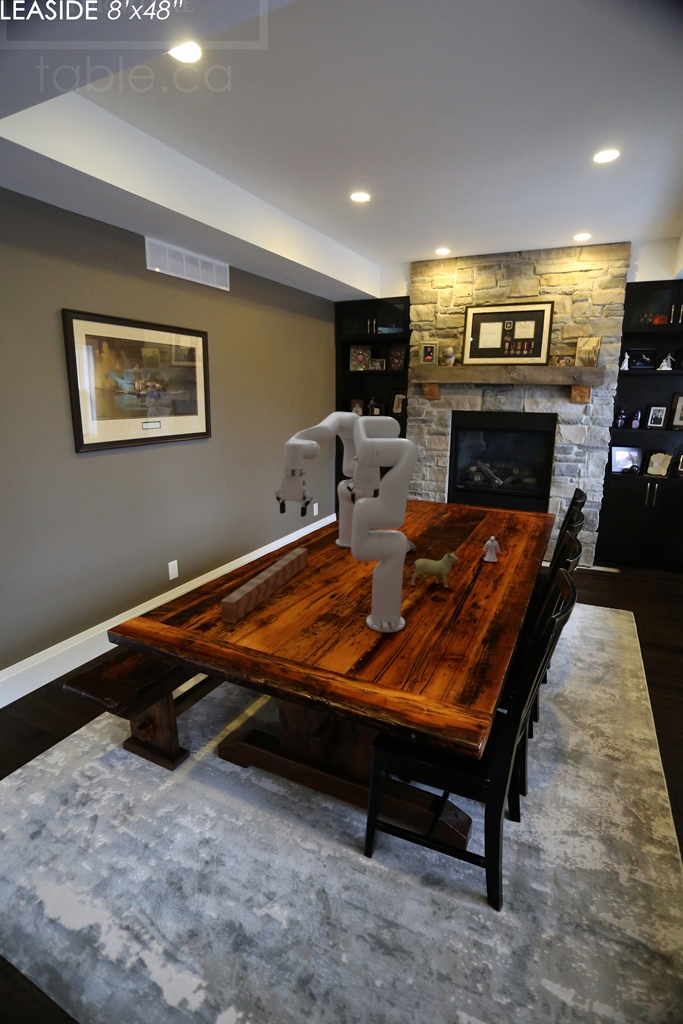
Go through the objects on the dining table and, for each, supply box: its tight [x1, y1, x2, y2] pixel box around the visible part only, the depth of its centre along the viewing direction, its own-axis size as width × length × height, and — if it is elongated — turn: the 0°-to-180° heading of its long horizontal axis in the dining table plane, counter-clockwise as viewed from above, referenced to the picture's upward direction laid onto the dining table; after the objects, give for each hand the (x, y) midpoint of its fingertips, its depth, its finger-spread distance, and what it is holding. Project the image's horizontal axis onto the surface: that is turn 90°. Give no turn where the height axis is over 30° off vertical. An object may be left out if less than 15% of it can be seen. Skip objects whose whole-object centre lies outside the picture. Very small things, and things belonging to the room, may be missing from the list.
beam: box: [220, 547, 309, 624], centre depth 188 cm, size 59×4×7 cm, turn 160°
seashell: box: [406, 539, 417, 553], centre depth 234 cm, size 8×5×8 cm
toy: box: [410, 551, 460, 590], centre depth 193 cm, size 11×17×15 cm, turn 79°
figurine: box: [482, 535, 501, 563], centre depth 223 cm, size 8×8×12 cm
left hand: (293, 514), depth 202 cm, fingers open, 9 cm apart
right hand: (365, 503), depth 197 cm, fingers open, 9 cm apart
